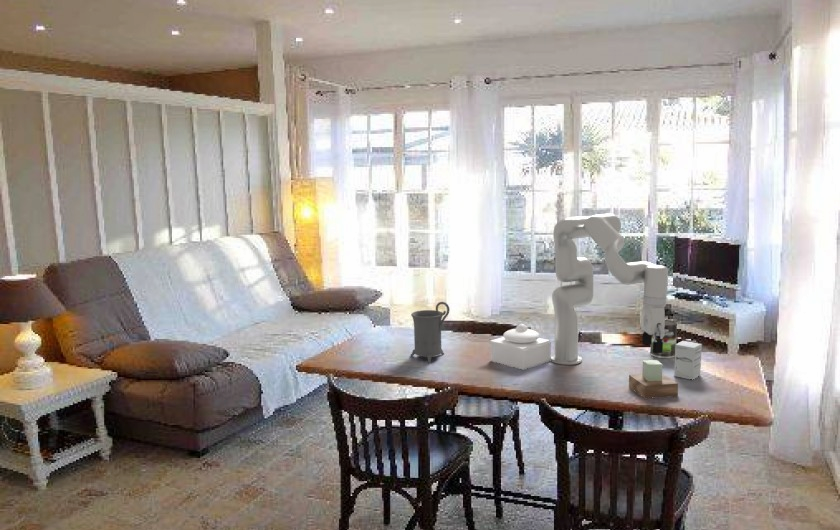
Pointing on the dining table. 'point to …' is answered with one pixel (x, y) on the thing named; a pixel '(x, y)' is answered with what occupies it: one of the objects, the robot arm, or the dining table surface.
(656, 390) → the walnut box
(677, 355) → the supplement box
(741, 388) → the dining table surface
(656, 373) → the green block
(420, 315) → the mug
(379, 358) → the dining table surface
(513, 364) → the white lidded container
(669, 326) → the coffee can
